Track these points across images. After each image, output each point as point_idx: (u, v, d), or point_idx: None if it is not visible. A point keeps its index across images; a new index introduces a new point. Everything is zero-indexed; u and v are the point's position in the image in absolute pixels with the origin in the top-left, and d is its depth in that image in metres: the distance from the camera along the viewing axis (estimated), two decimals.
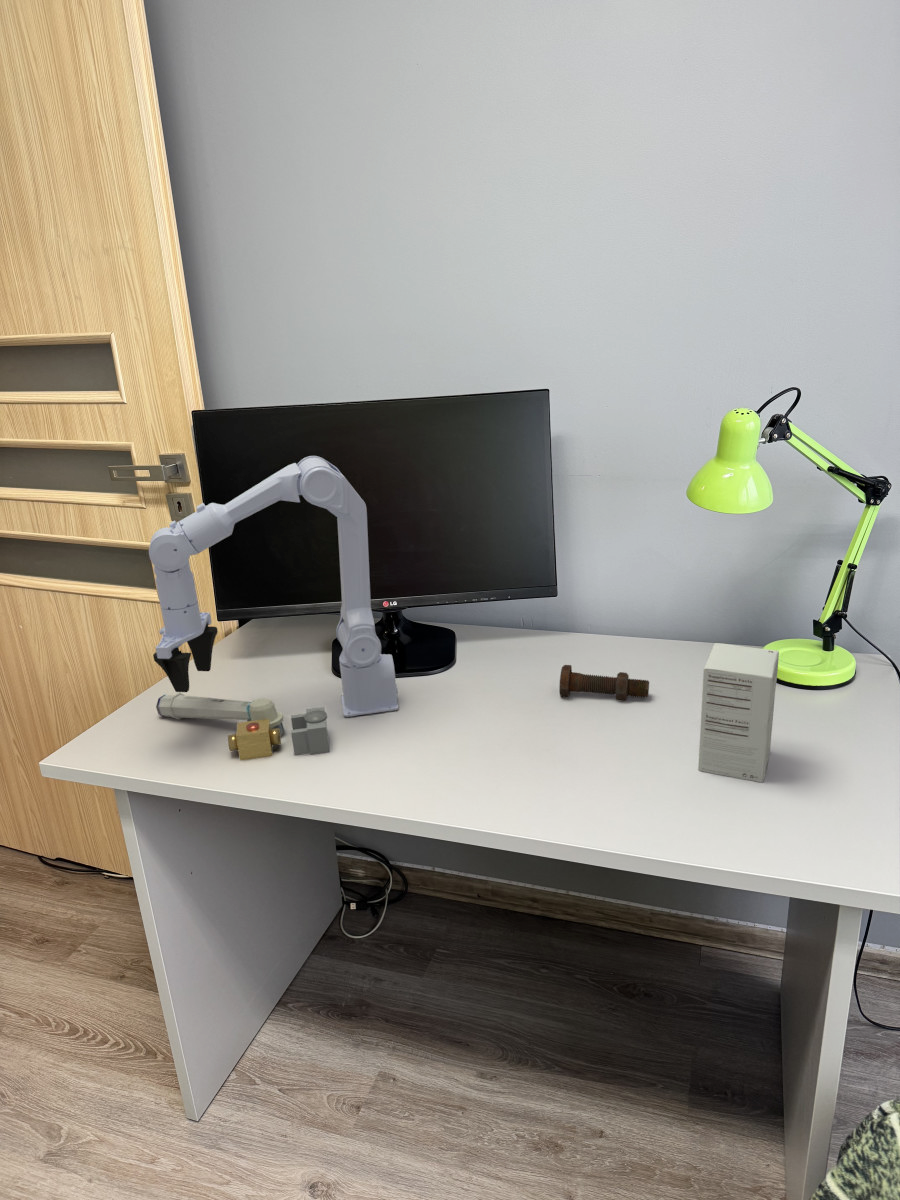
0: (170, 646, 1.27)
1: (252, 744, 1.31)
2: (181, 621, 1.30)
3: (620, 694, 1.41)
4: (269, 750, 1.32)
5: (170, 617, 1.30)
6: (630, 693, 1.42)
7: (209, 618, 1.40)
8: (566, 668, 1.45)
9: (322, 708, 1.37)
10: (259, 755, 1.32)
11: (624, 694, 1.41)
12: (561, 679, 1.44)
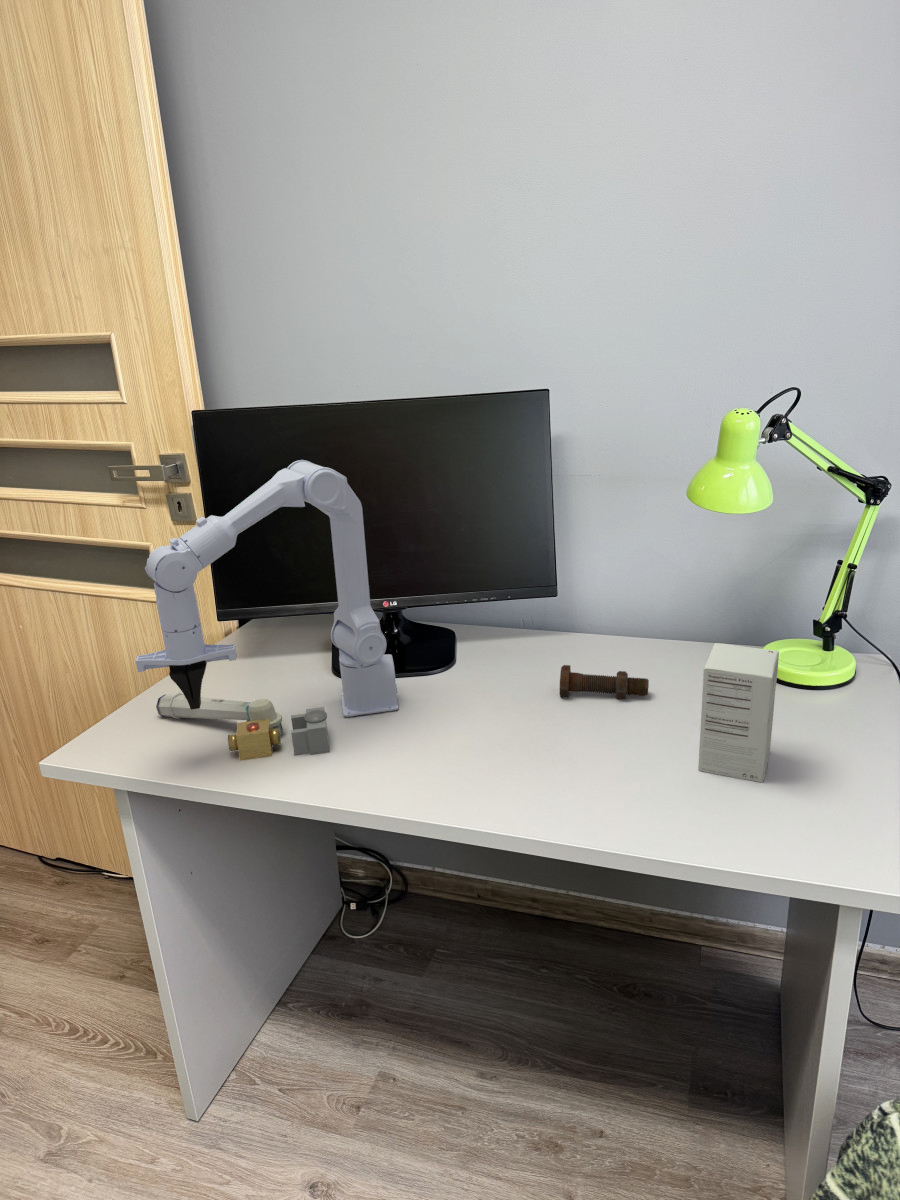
0: (141, 661, 1.24)
1: (252, 744, 1.31)
2: (165, 643, 1.24)
3: (620, 693, 1.42)
4: (269, 750, 1.32)
5: None
6: (630, 692, 1.42)
7: (231, 654, 1.26)
8: (566, 668, 1.45)
9: (322, 708, 1.37)
10: (259, 755, 1.32)
11: (624, 693, 1.42)
12: (561, 679, 1.43)
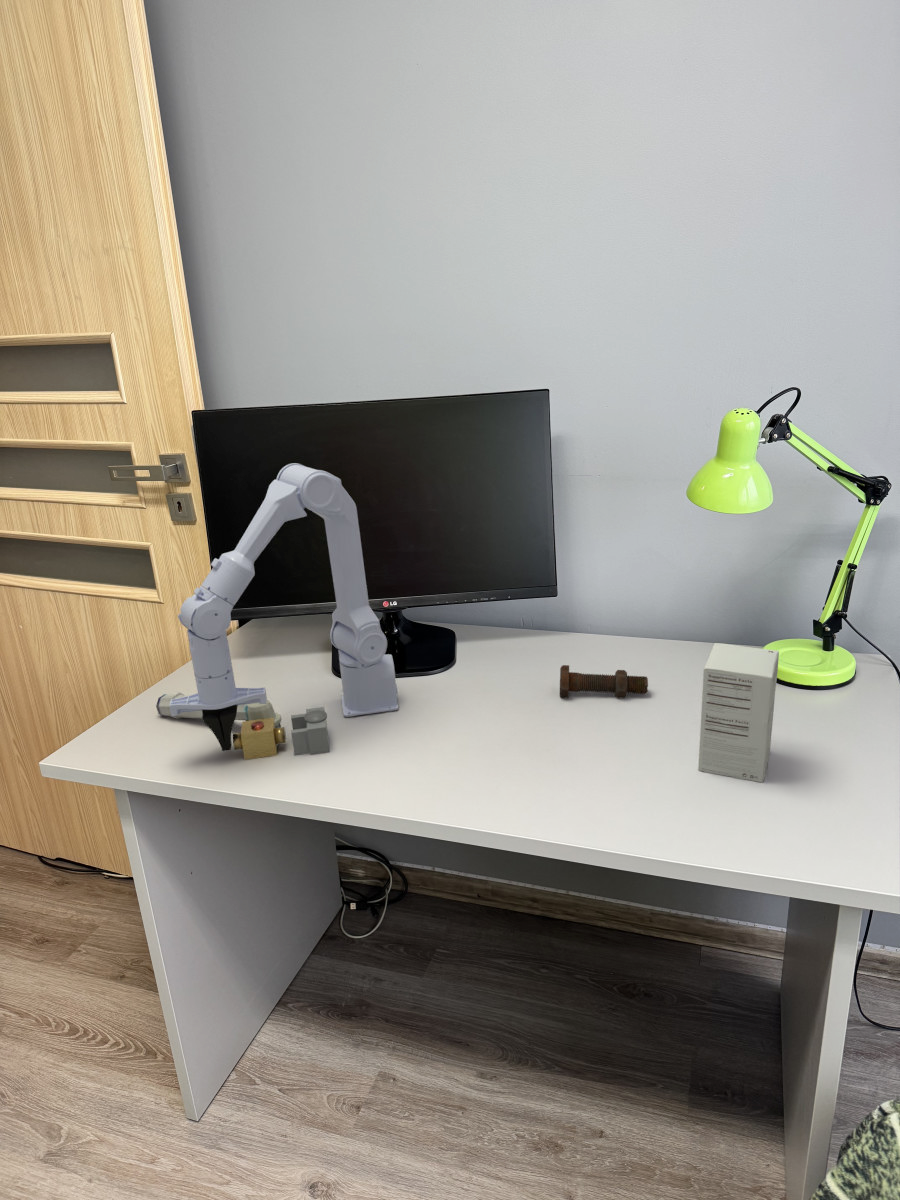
0: (175, 705, 1.28)
1: (256, 743, 1.31)
2: (198, 688, 1.27)
3: (620, 691, 1.42)
4: (274, 749, 1.32)
5: None
6: (630, 690, 1.43)
7: (262, 698, 1.30)
8: (565, 668, 1.45)
9: (322, 708, 1.37)
10: (264, 754, 1.32)
11: (624, 691, 1.42)
12: (561, 680, 1.43)
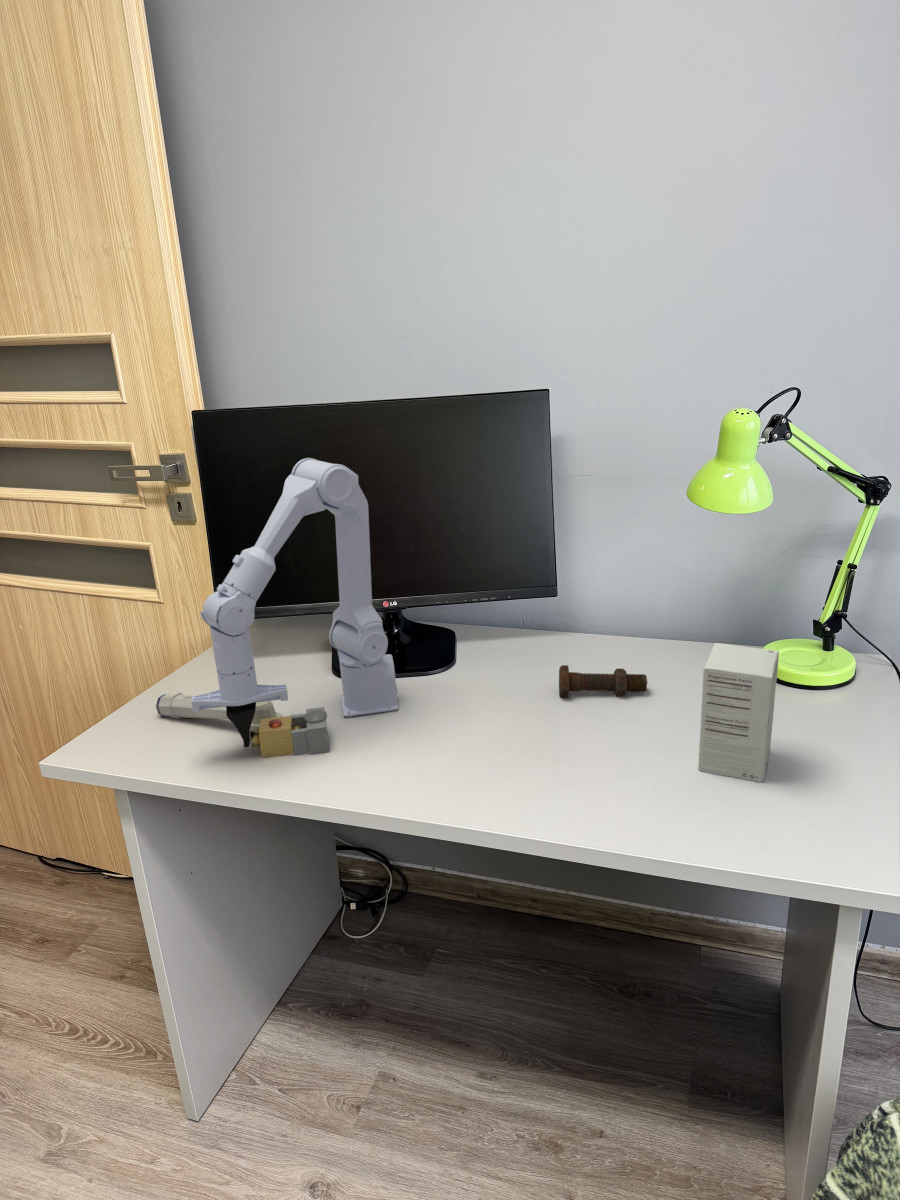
0: (197, 702, 1.28)
1: (274, 741, 1.31)
2: (220, 684, 1.27)
3: (620, 690, 1.43)
4: (291, 747, 1.32)
5: None
6: (629, 688, 1.43)
7: (283, 695, 1.30)
8: (564, 668, 1.45)
9: (322, 708, 1.37)
10: (281, 752, 1.32)
11: (624, 690, 1.43)
12: (561, 680, 1.43)
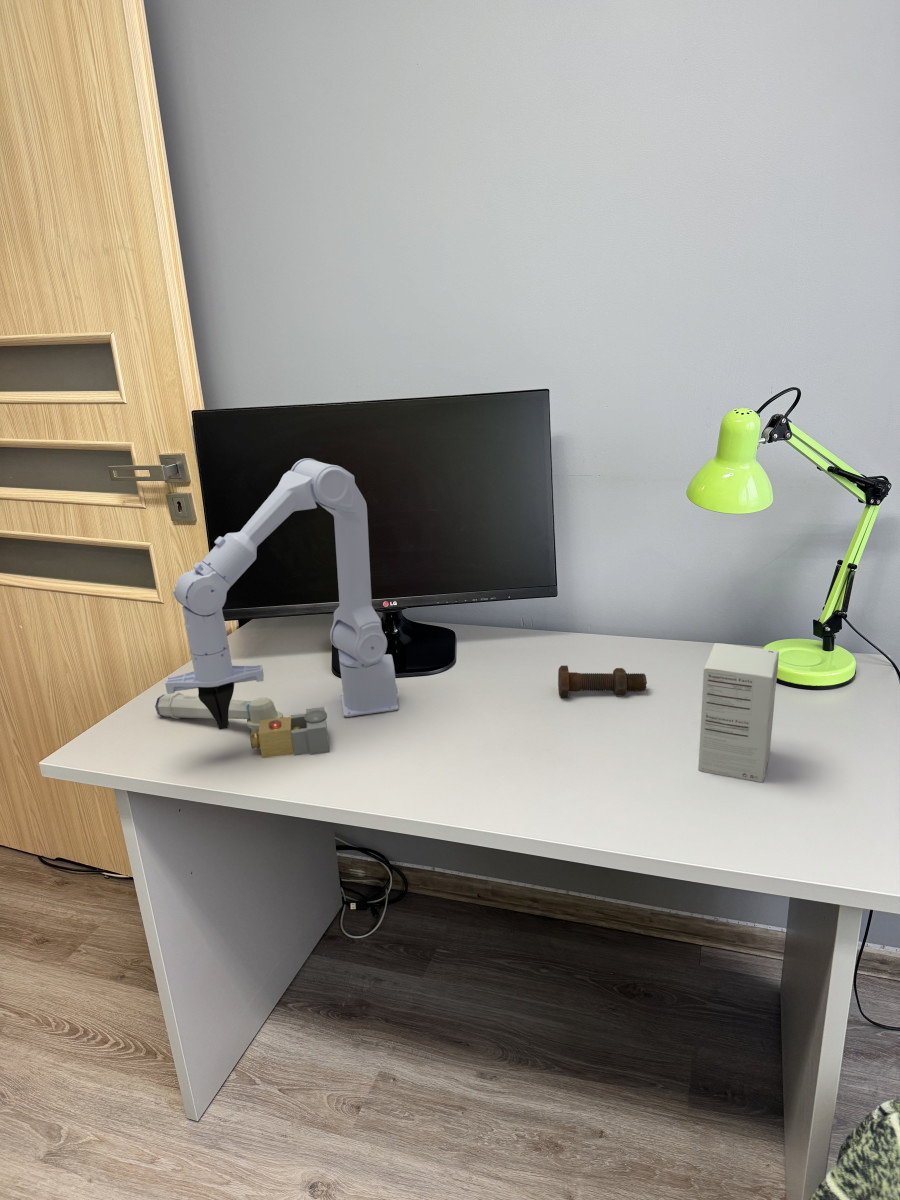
0: (171, 683, 1.26)
1: (274, 742, 1.31)
2: (194, 665, 1.26)
3: (620, 689, 1.43)
4: (291, 748, 1.32)
5: None
6: (629, 688, 1.44)
7: (258, 675, 1.28)
8: (564, 668, 1.45)
9: (322, 708, 1.37)
10: (281, 753, 1.32)
11: (624, 689, 1.43)
12: (561, 680, 1.43)
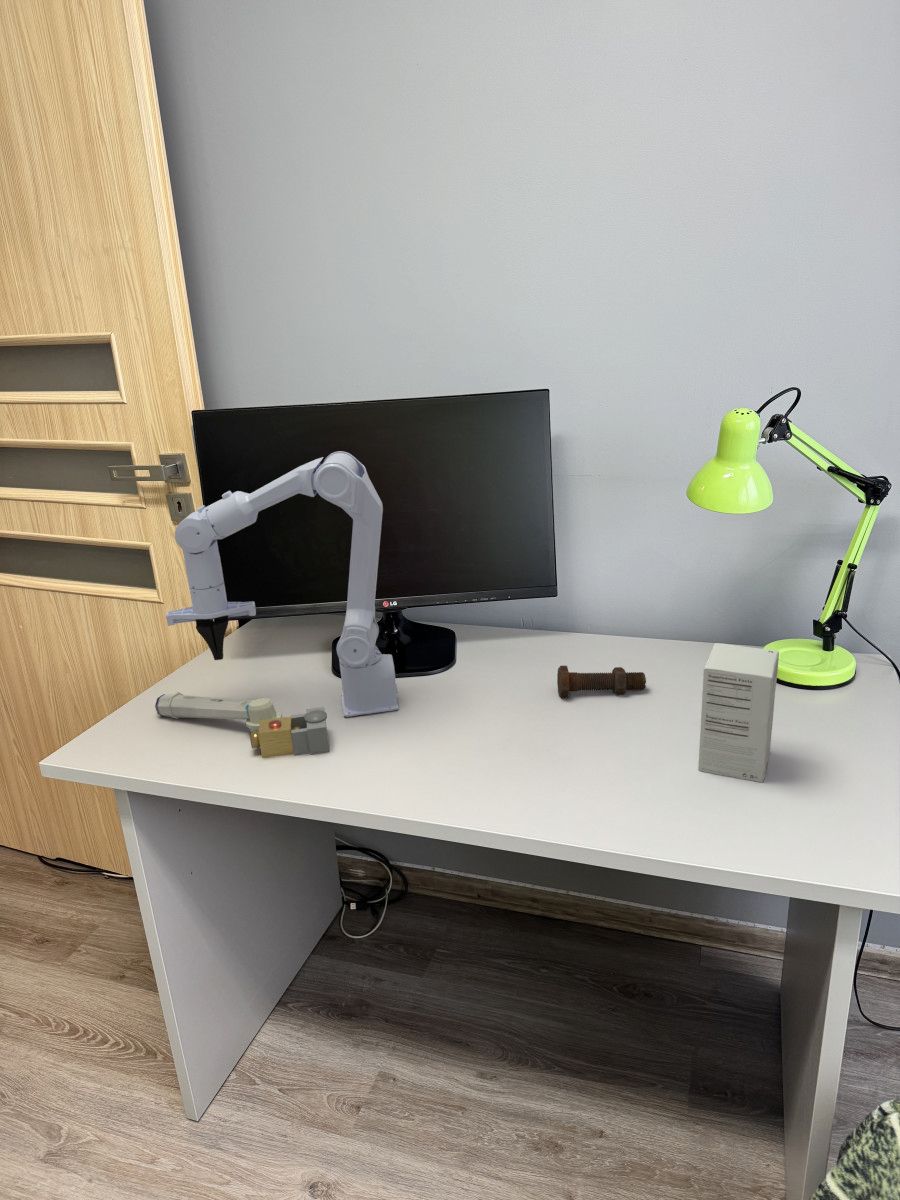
0: (171, 616, 1.39)
1: (274, 742, 1.31)
2: (192, 599, 1.38)
3: (620, 689, 1.43)
4: (291, 748, 1.32)
5: None
6: (629, 687, 1.44)
7: (251, 610, 1.41)
8: (564, 668, 1.45)
9: (322, 708, 1.37)
10: (281, 753, 1.32)
11: (624, 688, 1.43)
12: (562, 680, 1.43)
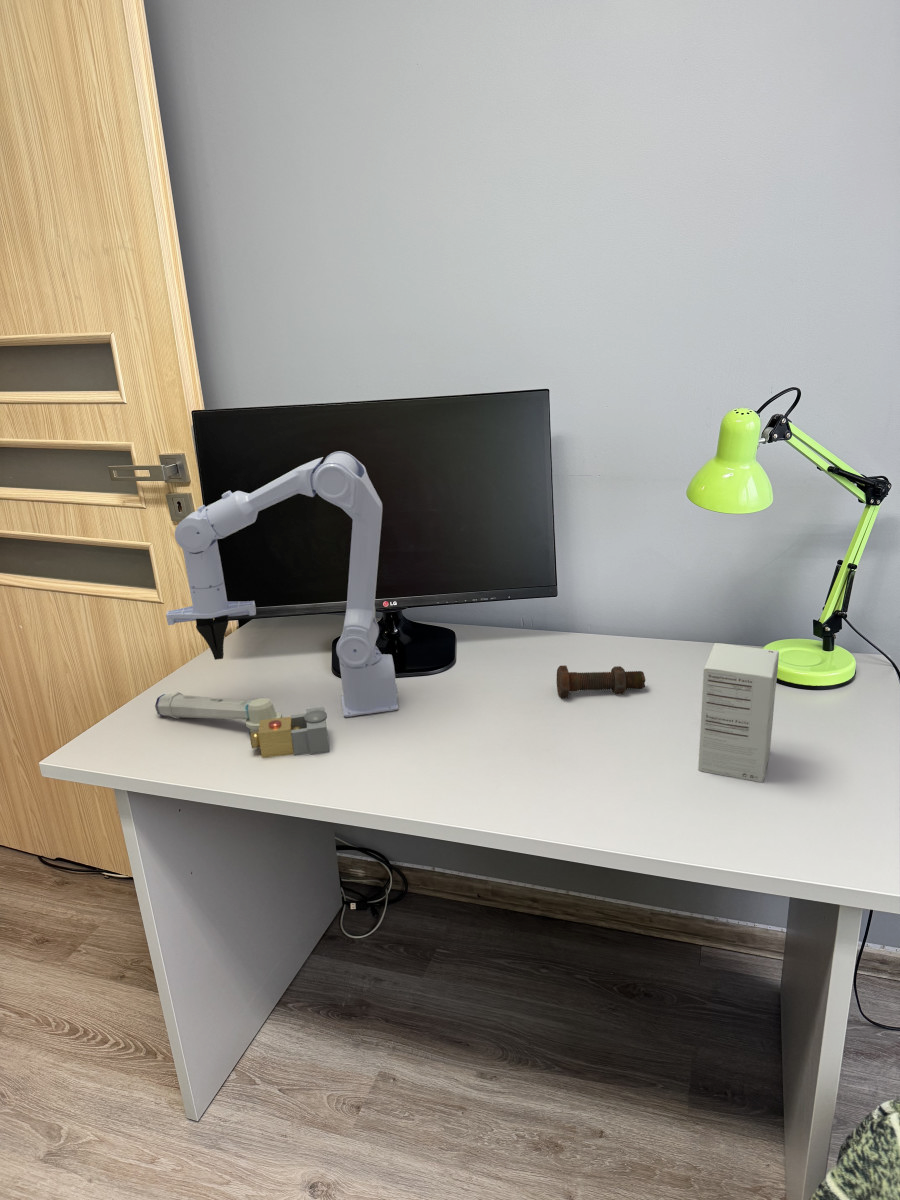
0: (171, 615, 1.39)
1: (274, 742, 1.31)
2: (192, 599, 1.38)
3: (620, 688, 1.44)
4: (291, 748, 1.32)
5: None
6: (628, 686, 1.44)
7: (251, 609, 1.41)
8: (563, 668, 1.45)
9: (322, 708, 1.37)
10: (281, 753, 1.32)
11: (624, 687, 1.44)
12: (562, 680, 1.43)
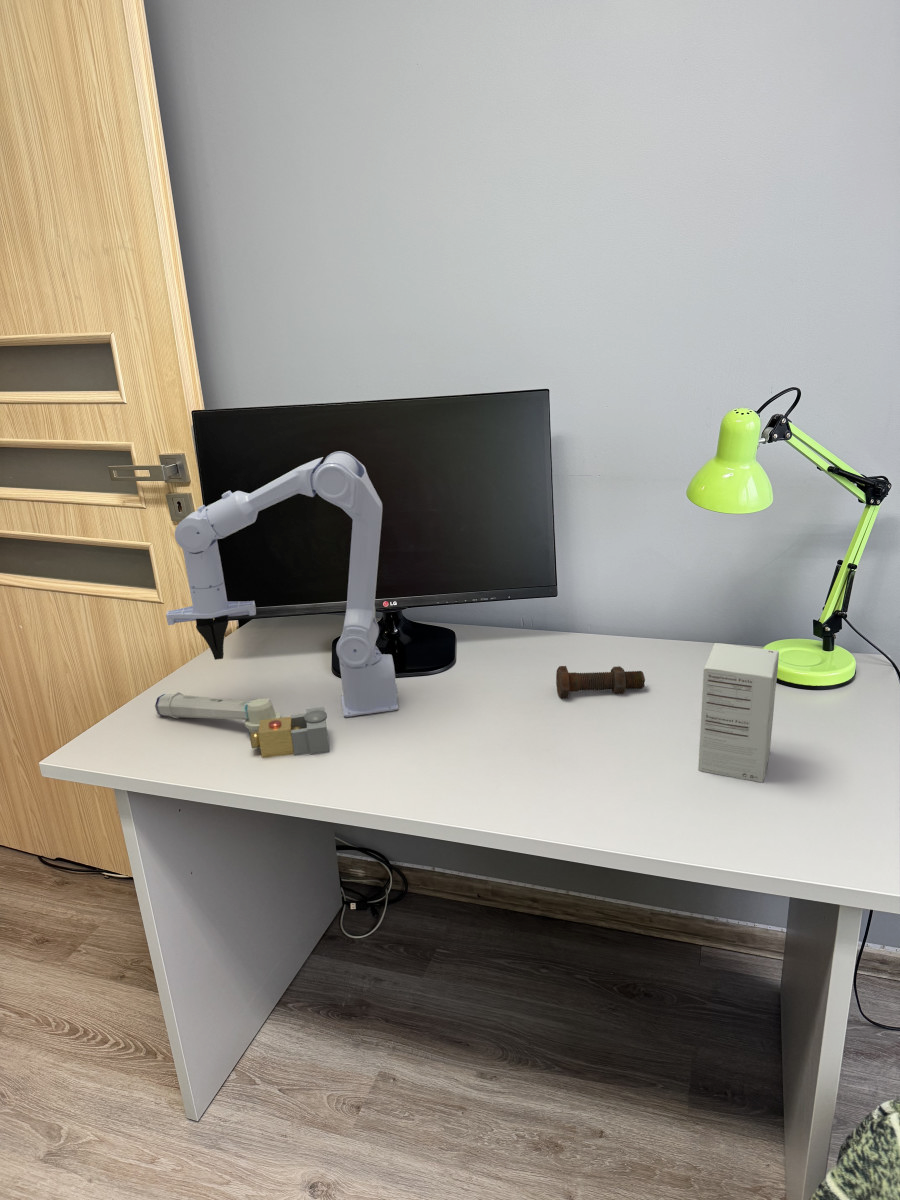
0: (171, 615, 1.39)
1: (274, 742, 1.31)
2: (192, 599, 1.38)
3: (620, 688, 1.44)
4: (291, 748, 1.32)
5: None
6: (628, 686, 1.45)
7: (251, 609, 1.41)
8: (563, 669, 1.45)
9: (322, 708, 1.37)
10: (281, 753, 1.32)
11: (624, 687, 1.44)
12: (562, 681, 1.43)
